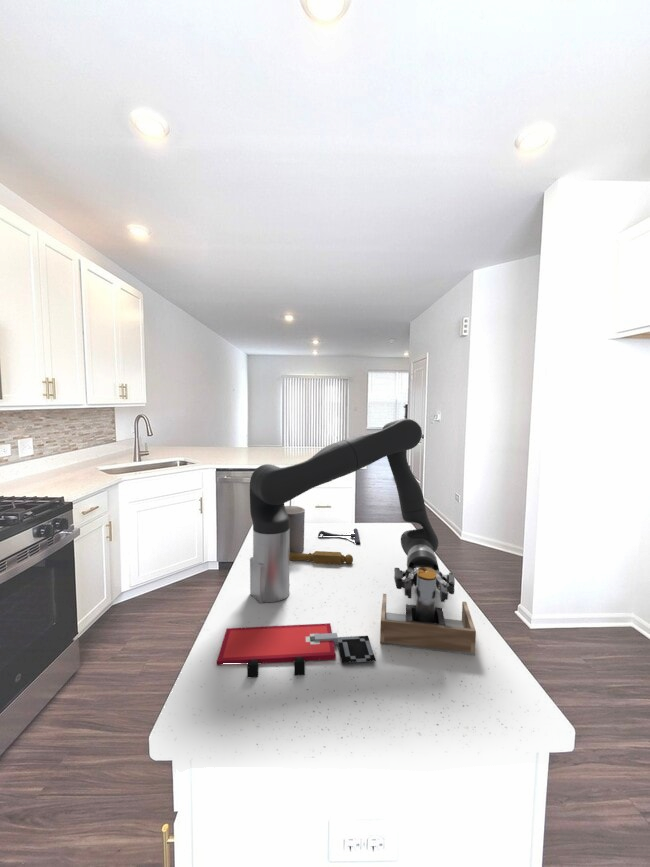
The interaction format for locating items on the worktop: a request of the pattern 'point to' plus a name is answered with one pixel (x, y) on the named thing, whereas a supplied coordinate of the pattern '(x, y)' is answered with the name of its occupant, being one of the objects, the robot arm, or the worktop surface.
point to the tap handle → (322, 557)
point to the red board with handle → (290, 646)
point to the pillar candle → (296, 528)
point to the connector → (425, 595)
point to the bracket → (343, 535)
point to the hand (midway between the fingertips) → (426, 595)
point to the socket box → (428, 630)
